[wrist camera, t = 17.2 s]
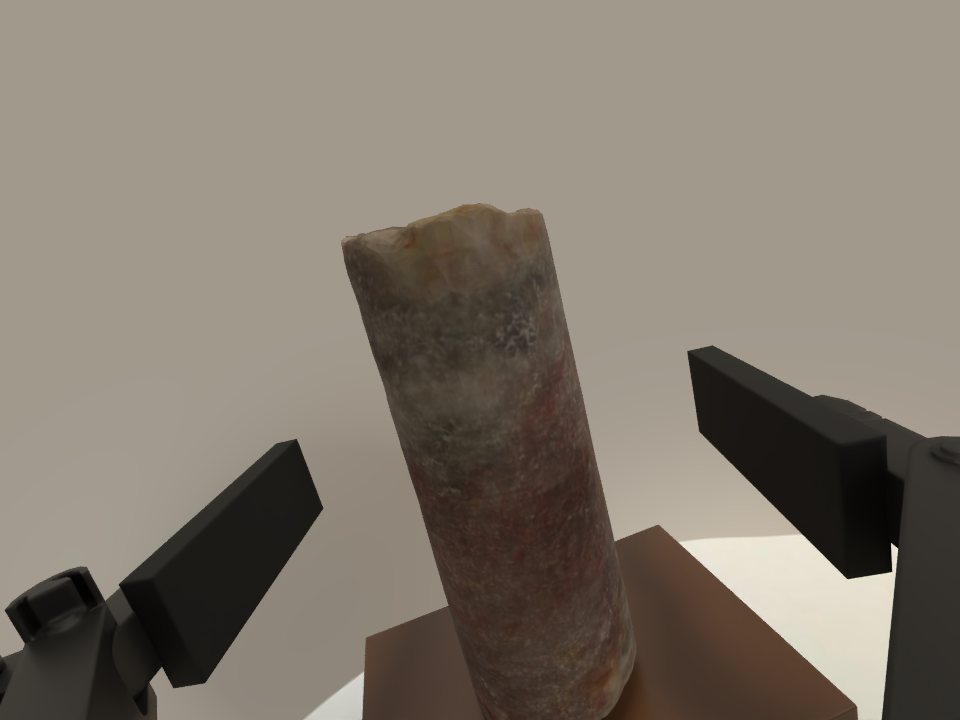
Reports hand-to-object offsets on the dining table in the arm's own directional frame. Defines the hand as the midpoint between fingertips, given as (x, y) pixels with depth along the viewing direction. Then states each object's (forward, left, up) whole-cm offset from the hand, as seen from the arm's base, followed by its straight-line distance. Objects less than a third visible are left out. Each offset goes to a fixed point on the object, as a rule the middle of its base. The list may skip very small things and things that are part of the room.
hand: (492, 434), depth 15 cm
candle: (0, -3, -13) cm, 13 cm away
